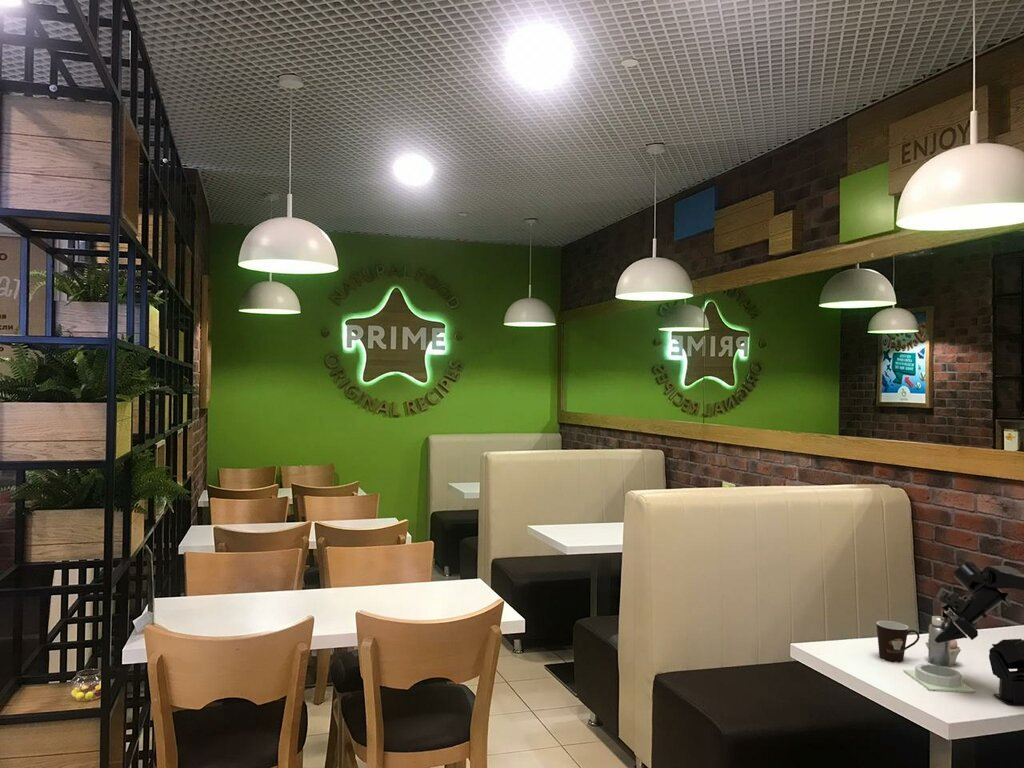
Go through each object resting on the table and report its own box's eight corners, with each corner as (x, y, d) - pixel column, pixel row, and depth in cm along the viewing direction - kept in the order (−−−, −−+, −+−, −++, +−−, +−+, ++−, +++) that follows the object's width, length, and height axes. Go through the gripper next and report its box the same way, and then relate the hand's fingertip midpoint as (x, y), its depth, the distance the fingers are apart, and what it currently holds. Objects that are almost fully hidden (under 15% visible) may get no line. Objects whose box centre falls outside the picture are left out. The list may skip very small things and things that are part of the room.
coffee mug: (874, 660, 230) (875, 626, 230) (876, 651, 237) (877, 619, 237) (918, 667, 224) (919, 633, 224) (918, 659, 232) (919, 625, 232)
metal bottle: (953, 666, 211) (954, 620, 211) (934, 666, 211) (935, 620, 211) (943, 660, 216) (944, 615, 216) (924, 659, 216) (925, 614, 217)
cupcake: (917, 658, 232) (918, 625, 232) (939, 655, 236) (940, 622, 236) (946, 669, 224) (947, 635, 224) (967, 665, 227) (968, 631, 227)
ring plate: (974, 692, 207) (974, 681, 207) (929, 690, 207) (929, 679, 207) (945, 672, 221) (945, 662, 221) (903, 671, 221) (903, 660, 221)
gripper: (949, 572, 222) (905, 606, 225) (964, 587, 204) (917, 624, 207) (980, 603, 219) (935, 637, 222) (998, 621, 201) (949, 658, 205)
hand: (933, 638), depth 214 cm, fingers closed on metal bottle, 5 cm apart
